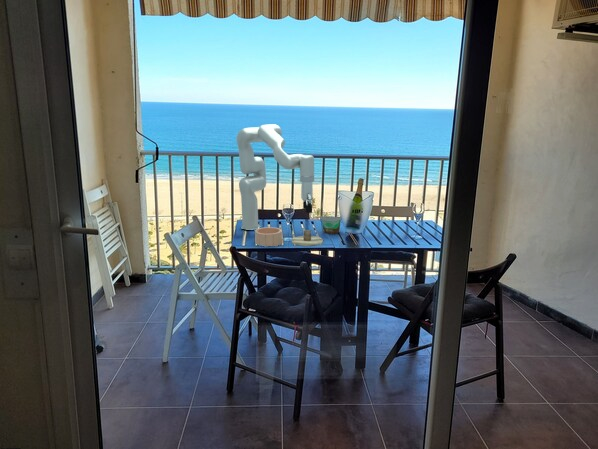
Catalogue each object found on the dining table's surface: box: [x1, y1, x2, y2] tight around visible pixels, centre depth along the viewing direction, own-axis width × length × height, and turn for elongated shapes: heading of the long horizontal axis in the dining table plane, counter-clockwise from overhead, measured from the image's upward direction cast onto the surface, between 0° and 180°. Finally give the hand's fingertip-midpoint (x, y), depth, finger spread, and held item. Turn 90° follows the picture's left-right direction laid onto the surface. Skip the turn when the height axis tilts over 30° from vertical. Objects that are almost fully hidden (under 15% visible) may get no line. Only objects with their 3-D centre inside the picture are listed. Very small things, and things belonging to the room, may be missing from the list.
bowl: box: [254, 226, 283, 247], centre depth 237 cm, size 14×14×7 cm
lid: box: [291, 229, 324, 247], centre depth 240 cm, size 17×17×6 cm
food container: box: [320, 215, 343, 235], centre depth 254 cm, size 12×6×10 cm, turn 82°
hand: (307, 210), depth 236 cm, fingers open, 9 cm apart
